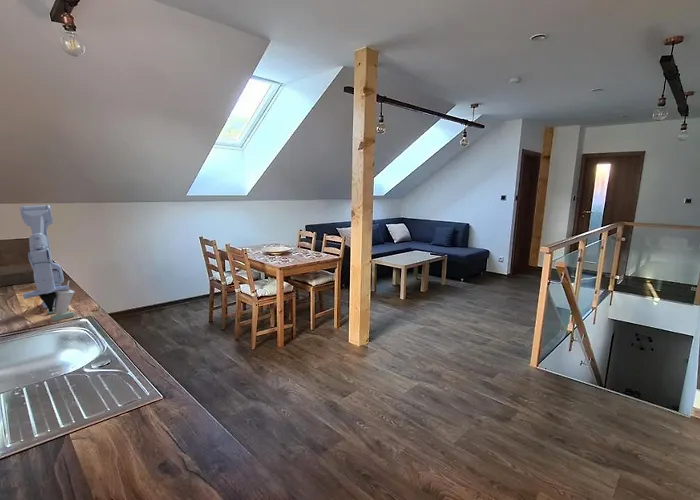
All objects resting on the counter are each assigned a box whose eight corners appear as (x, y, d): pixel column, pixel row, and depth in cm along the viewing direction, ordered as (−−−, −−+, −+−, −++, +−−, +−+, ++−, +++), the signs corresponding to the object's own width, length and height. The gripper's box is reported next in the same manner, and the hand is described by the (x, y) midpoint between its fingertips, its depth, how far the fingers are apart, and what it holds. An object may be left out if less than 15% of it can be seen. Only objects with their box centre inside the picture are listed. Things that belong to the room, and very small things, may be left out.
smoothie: (59, 316, 150) (67, 282, 150) (45, 312, 150) (53, 278, 151) (73, 314, 156) (81, 281, 156) (59, 310, 157) (67, 278, 157)
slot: (47, 313, 155) (46, 309, 155) (68, 308, 160) (67, 304, 160) (52, 321, 146) (51, 317, 146) (73, 316, 151) (73, 312, 151)
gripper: (21, 285, 140) (28, 318, 143) (68, 277, 150) (74, 308, 153) (19, 281, 145) (26, 314, 148) (65, 273, 155) (71, 304, 158)
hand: (50, 311), depth 151 cm, fingers closed
